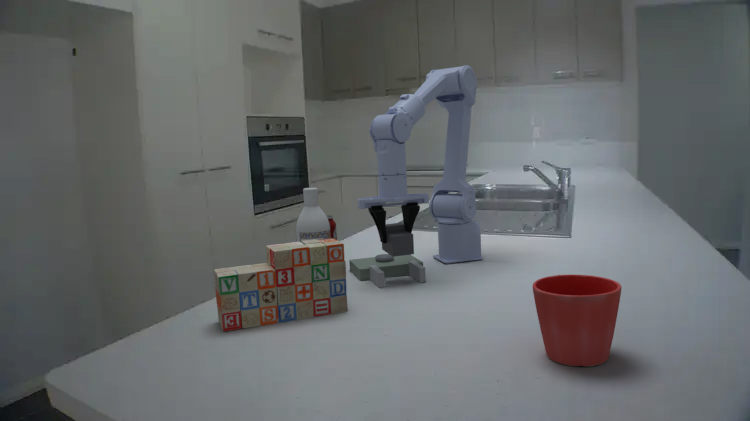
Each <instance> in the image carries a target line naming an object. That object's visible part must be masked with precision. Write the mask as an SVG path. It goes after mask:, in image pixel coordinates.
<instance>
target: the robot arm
mask: <svg viewBox="0 0 750 421" xmlns="http://www.w3.org/2000/svg"><path fill="white" fill-rule="evenodd" d="M477 85H478V79H477V76H476V74H475V71H474V69H473V68H472V66H470V65H467V64H465V65H462V66H461V65H460V66H455V67H447V68H440V69H436V68H435V69H431V71H429V72H428V73H427V74H426V75H425V81H424V82H423V83H422V84H421V85H420V86H419V87H418V89H417V90H416V91H415V92H414V93H406V94H405V93H403V94H401V95H400V97H399V100H398V101H396V103H395V104H394V105H393V106H389V108H388V109H387V112H385V114H379V115H376V116H375V117H374V119H373V120H372V121H371V123H370V128H369V129H368V132H369V136H370V138H371V140H372V142H373V149H374V151H375V153H376V158H377V164H376V165H377V183H378V196H370V197H363V198H362V197H361V198H357V200H356V202H357V209H358V210H359V209H360V210H365V209H367V210H368V212H369V215H370V216H371V217H372V220H373V222H374V224H375V226H376V229H377V233H378V236H379V240H380V242H381V244H382V243H387V237H386V224H387V223H386V222H387V211H386V210H385V208H384V207H395V206H400V208H401V213H402V219H403V220H402V221H403V224H405V230H406V231H408V232H410V233H412V232H413V228H414V224H415V221H416V219H417V217H418V214H419V213H420V209H421V206H420V204H425V205H426V204H428V209H429V213H430V215H431V217H432V218H433V219H434V222H435V223H437V236H438V237H437V239H438V242H437V244H438V254H433V255H432V258H434V259H435V260H437V261H439V262H442V263H443V264H445V265H446V264H453V263H455V264H456V263H463V262H471V261H479V260H483V256H482V240H481V238H482V237H481V236H482V235H481V234H482V232H481V227H480V225H479V223H478V221H477V220H473V218H474V217H475V215H476V212H477V200H476V199H477V198H476V189H475V188H474V187H473V186H472V185H471V184H470V183H469V182H468V181H466V177H467V166H468V156H469V146H470V145H469V142H470V135H471V133H470V132H471V123H472V122H471V121H472V110H473V106H474V105H475V104H476V98H477ZM434 100H435V101H436V103H437V104H438V105H439V106H441V108H444V109H445V110H447V112H448V119H447V130H446V142H445V153H444V162H443V172H442V173H443V174H442V179H441V180H440V181H439V182H437V183H436V184H435V185H434V186H433V188H432V194H431V197H430V195H429V193H425V192H424V193H423V192H422V193H408V178H407V163H406V162H407V159H406V158H407V156H406V155H407V154H406V142H407V141H408V140H409V139H410V137H411V134H412V130H413V128H414V126H415V125H416V124H417V123H418V122H419V121H420V120H421V119H422V118H423V117H424V115H425V113H426V107H427V106H428V105H429V104H430V103H431V102H433V101H434ZM412 234H413V233H412Z"/></svg>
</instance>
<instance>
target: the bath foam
mask: <svg viewBox="0 0 750 421" xmlns="http://www.w3.org/2000/svg"><path fill="white" fill-rule="evenodd" d="M302 192H303V193H302V194H303V204H304V206H303V208H302V210H301V212H300V213H299V216H298V218H297V220H296V224H295V226H296V227H295V236H296V242H301V241H305V240H314V239H317V240H323V239H331V232H330V225H329V221H328V219H327V217H326V215H327V214H326V213H325V212H324V210H323V209H322V208H321V207H320V204H319V190H318V188H317V187H305V188H303V189H302Z"/></svg>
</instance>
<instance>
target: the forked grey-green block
mask: <svg viewBox="0 0 750 421" xmlns="http://www.w3.org/2000/svg"><path fill="white" fill-rule="evenodd" d="M348 262H349V271H350V272H351V274H353V275H354V276H355V277H356V278H357V279H358V280H359V281H361V282H362V281H368V280H369V281H370V282H372V283H373V284H375V286H377V287H378V288H379V289H380V288H386V281H385V278H386V277H387V278H394V276H395V277H402V276H410V277H411V278H413V279H414V280H415V281H417V282H418V283H420V284H421V283H426V282H427V281H426V280H427V278H426V276H427V275H426V266H424V262H423V261H422V260H420V259H419V258H417V257H415V256H414V255H413V254H411V255H403V256H395V257H393V256H391V255H390V254H388V253H383V254H377V255H375V256H373V257H370V256H369V257H365V258H361V257H360V258H355V259H354V258H353V259H349V261H348Z"/></svg>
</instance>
